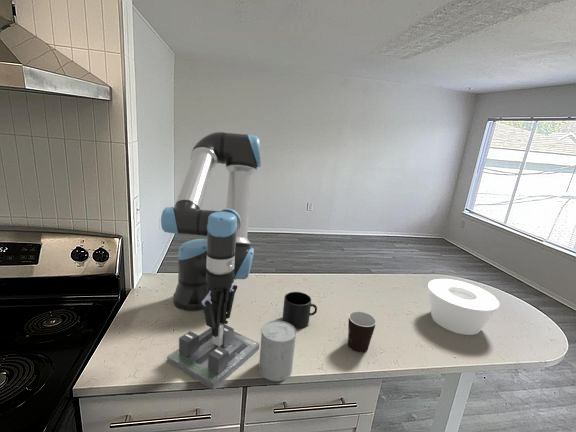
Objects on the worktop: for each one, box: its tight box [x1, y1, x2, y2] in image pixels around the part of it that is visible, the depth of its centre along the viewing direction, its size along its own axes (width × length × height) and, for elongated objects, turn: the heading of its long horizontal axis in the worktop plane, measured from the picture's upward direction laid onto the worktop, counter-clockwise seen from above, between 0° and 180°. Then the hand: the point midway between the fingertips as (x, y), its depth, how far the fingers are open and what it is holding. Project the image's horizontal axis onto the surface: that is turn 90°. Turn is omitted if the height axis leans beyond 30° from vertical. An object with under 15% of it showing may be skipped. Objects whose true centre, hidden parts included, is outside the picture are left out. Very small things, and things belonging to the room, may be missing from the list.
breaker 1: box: [178, 331, 200, 357], centre depth 92 cm, size 4×4×5 cm
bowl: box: [427, 278, 500, 336], centre depth 124 cm, size 24×24×12 cm
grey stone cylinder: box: [258, 320, 297, 382], centre depth 91 cm, size 10×10×12 cm
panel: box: [166, 327, 261, 391], centre depth 95 cm, size 17×20×2 cm
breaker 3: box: [220, 324, 234, 348], centre depth 97 cm, size 4×4×5 cm
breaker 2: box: [208, 346, 229, 374], centre depth 87 cm, size 4×4×5 cm
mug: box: [281, 291, 318, 329], centre depth 115 cm, size 9×12×9 cm
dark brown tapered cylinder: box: [347, 310, 377, 354], centre depth 105 cm, size 12×9×10 cm
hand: (217, 343), depth 95 cm, fingers closed
